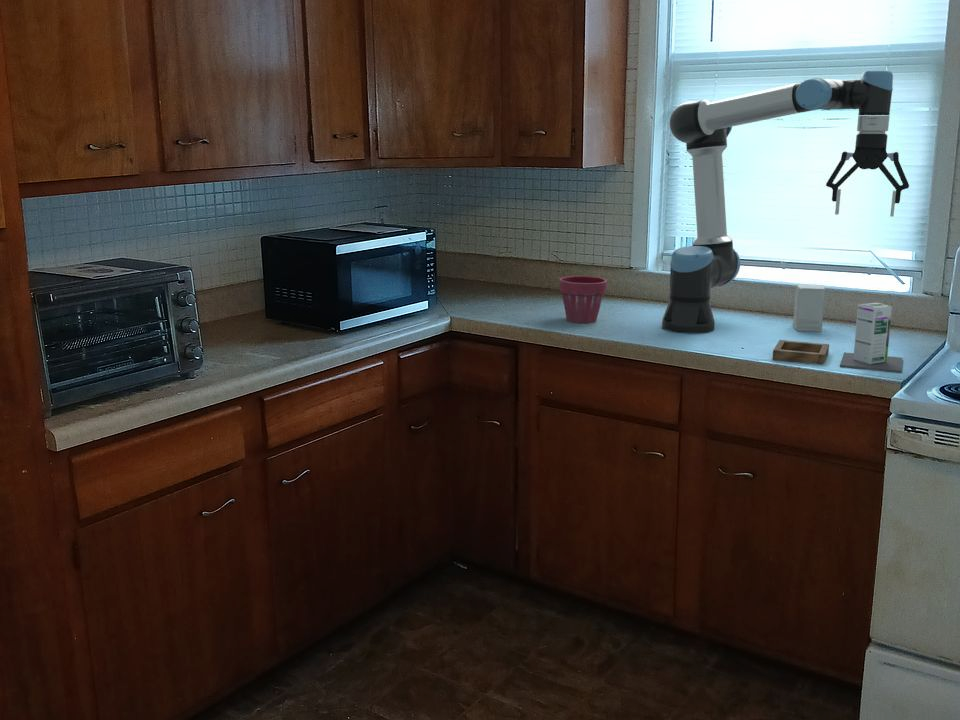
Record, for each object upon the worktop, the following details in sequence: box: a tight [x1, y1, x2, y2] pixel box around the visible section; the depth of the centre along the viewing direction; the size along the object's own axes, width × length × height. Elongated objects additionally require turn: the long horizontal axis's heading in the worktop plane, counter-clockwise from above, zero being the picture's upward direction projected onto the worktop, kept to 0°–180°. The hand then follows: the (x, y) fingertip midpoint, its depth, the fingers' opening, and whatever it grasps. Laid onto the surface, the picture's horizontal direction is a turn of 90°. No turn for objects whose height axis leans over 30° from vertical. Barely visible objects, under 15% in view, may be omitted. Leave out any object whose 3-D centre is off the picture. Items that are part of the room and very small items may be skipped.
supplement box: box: [792, 284, 826, 333], centre depth 274 cm, size 7×7×13 cm
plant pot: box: [558, 275, 608, 324], centre depth 286 cm, size 14×14×13 cm
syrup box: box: [853, 302, 893, 364], centre depth 235 cm, size 6×6×14 cm
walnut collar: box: [772, 339, 830, 365], centre depth 243 cm, size 12×12×2 cm
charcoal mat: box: [839, 351, 903, 374], centre depth 237 cm, size 14×14×1 cm
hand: (864, 215), depth 250 cm, fingers open, 13 cm apart
